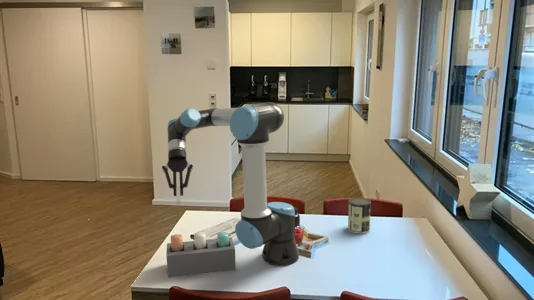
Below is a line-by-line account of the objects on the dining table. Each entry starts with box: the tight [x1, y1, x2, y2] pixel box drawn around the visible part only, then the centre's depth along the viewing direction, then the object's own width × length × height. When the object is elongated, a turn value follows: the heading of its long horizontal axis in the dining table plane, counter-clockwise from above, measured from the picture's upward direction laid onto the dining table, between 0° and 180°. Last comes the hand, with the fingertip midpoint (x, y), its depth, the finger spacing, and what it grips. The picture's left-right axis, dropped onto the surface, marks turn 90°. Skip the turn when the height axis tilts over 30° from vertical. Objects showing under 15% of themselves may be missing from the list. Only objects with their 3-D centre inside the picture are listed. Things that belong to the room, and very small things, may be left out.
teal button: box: [216, 231, 230, 248], centre depth 178 cm, size 4×4×6 cm
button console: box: [165, 237, 237, 278], centre depth 178 cm, size 26×11×9 cm, turn 101°
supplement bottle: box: [293, 206, 301, 227], centre depth 208 cm, size 7×7×12 cm
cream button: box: [193, 231, 207, 250], centre depth 176 cm, size 4×4×6 cm
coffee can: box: [347, 197, 372, 234], centre depth 211 cm, size 10×10×14 cm
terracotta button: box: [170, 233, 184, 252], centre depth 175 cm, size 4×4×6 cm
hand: (178, 202), depth 180 cm, fingers closed
